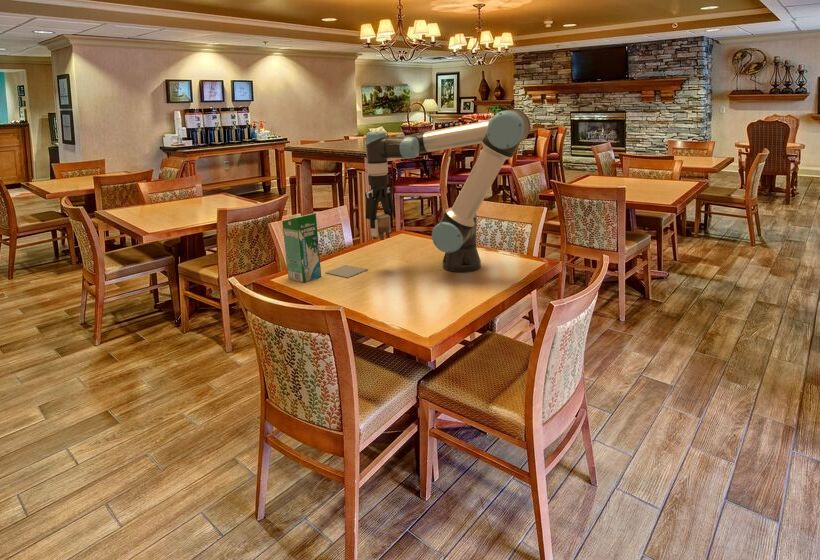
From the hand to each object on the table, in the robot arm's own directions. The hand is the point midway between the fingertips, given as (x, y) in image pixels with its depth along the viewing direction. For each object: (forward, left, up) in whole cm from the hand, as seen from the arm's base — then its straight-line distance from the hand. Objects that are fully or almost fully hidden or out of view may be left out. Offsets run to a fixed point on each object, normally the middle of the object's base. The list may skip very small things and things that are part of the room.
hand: (381, 234), depth 217 cm
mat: (+12, +8, -15) cm, 21 cm away
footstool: (0, 0, -2) cm, 2 cm away
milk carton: (+21, +22, -15) cm, 34 cm away
